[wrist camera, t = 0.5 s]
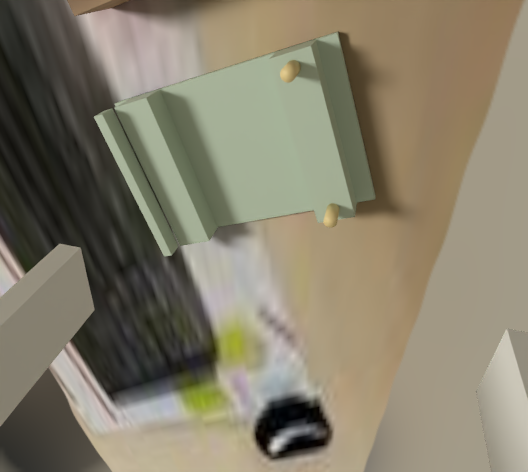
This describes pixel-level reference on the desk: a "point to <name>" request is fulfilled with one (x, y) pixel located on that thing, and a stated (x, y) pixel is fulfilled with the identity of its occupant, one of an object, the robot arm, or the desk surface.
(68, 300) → the robot arm
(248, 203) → the carcass
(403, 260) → the desk surface
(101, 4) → the door
